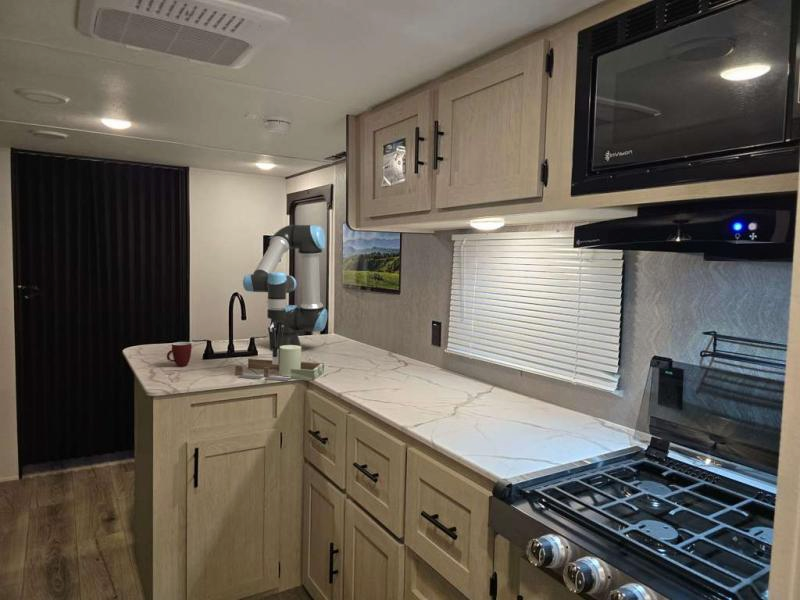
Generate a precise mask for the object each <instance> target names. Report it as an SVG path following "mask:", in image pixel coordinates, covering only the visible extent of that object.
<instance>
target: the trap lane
mask: <svg viewBox="0 0 800 600" xmlns="http://www.w3.org/2000/svg"><path fill="white" fill-rule="evenodd" d="M324 366H325V363H323V362H307V361H305V362H304V361H301V369H291V376H290V378H291V379H292V380H304V381H305V380H306V381H315V380H316V379H317V377H318V378H319V377H320V376H321V375H322V374H324V372H325V371H324V370H325V367H324ZM247 369H253V370H263V376H264V377H263V378H267V377H270V371H279V365H275V364H272V359H258V358H248V359H247ZM241 375H244V366H243V365H237V364H236V365H234V376H241ZM291 379H290V380H291Z"/></svg>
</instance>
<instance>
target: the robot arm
mask: <svg viewBox="0 0 800 600" xmlns="http://www.w3.org/2000/svg"><path fill="white" fill-rule="evenodd" d="M289 249H295V250H296V249H297V250H298V254H299V255H300V256H301V272H302V273H301V275H302V300H303V302H302V303H301V305H300V307H299V305H298V304H288V305H287V294H289V293H292V292H293V291H295V290H296V288H297V280H296V279H295V277H293V276H292V275H288V274H286V272H283V271H275V270H276V269H277V266H278V265H279V263H280V261H281V259H282V257H283V256H284V254H285V253H287V252H288V251H289ZM325 249H326V234H325V231H324V229H323V227H322V226H320V225H313V224H290V225H286V226H283V227H282V228H280V229H279V230H278V231H276V232H275V233H274V234H273V235H272V237H271V238H270V240H269V246H268V248H267V250H266V252H264V255H263V256H262V258H261V259H260V262H259V263H258V264H257V267H256V268H255V270H254V271H253V273H252V274H245V275H244V277H243V279H242V286H243V288H244V290H245V291H246V292H252V293H267V300H266V303H267V319H270V325H269V326H268V328H267V330H268V336H269V337H268V339H269V349H270V350H271V351H272V354H271V355H272V356H271V357H272V358H271V360H272V364H275V365H279V362H280V346H284V345H297V346H301V347H302V344H301V341H300V338H299V334H298V333H299V332H302V331H303V332H313V333H315V332H317V333H318V332H322V331H324V330H325V327H326V326H327V325H326V324H327V321H328V310H327V309H326V308H324V304H323V303H322V302H321V280H320V279H321V277H320V255H321V254H322V253H323V250H325Z"/></svg>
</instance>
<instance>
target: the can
mask: <svg viewBox="0 0 800 600" xmlns="http://www.w3.org/2000/svg"><path fill="white" fill-rule="evenodd" d="M301 362H302V345H301V346H297V345H284V346H280V362H279V370H278V375H279V376H282V377H291V369H301Z"/></svg>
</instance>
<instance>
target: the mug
mask: <svg viewBox="0 0 800 600" xmlns="http://www.w3.org/2000/svg"><path fill="white" fill-rule="evenodd" d="M192 345H193V344H192V342H189V341H177V342H172V343H171V350H169V351H168V352H167V353H166V358H167V361H170V362H174V363H175V365H176V367H179V368H182V367H187V366H188V364H189V362H190V360H191V354H192V349H193V348H192V347H193V346H192ZM171 354H172V357H173V359H171V357H170V355H171Z"/></svg>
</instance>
